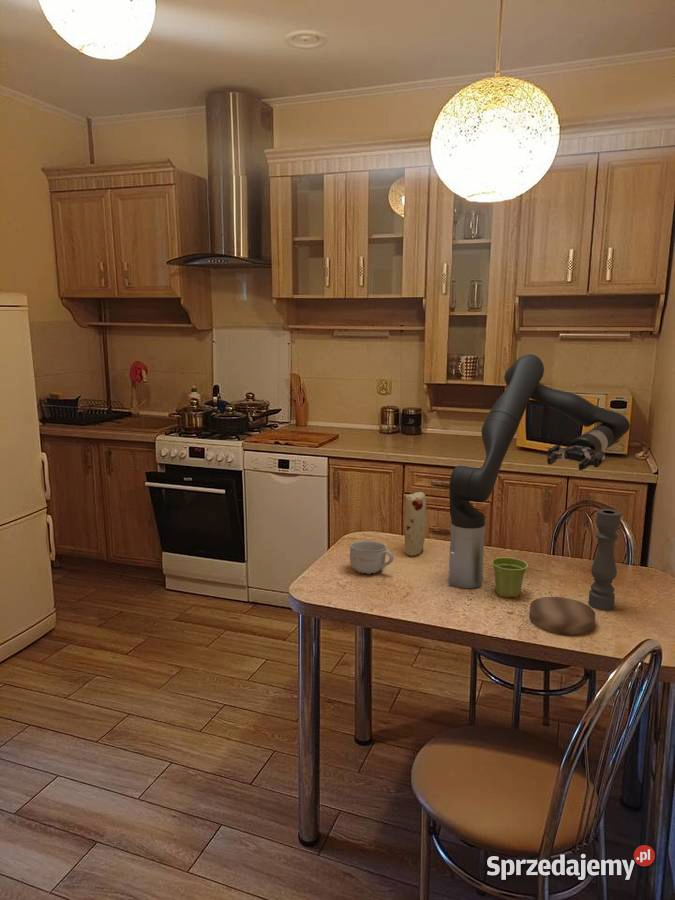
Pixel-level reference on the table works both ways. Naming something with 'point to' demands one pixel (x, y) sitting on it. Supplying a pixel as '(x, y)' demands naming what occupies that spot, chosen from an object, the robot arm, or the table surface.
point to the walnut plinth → (562, 616)
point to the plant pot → (508, 575)
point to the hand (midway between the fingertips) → (564, 464)
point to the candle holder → (604, 560)
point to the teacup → (369, 556)
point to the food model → (415, 523)
